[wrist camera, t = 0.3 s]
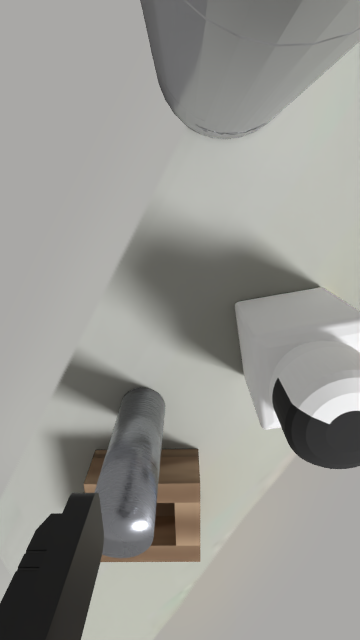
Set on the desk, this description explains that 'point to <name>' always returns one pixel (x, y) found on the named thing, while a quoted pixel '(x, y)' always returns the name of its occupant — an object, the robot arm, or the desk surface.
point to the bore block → (167, 507)
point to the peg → (132, 475)
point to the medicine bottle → (305, 372)
